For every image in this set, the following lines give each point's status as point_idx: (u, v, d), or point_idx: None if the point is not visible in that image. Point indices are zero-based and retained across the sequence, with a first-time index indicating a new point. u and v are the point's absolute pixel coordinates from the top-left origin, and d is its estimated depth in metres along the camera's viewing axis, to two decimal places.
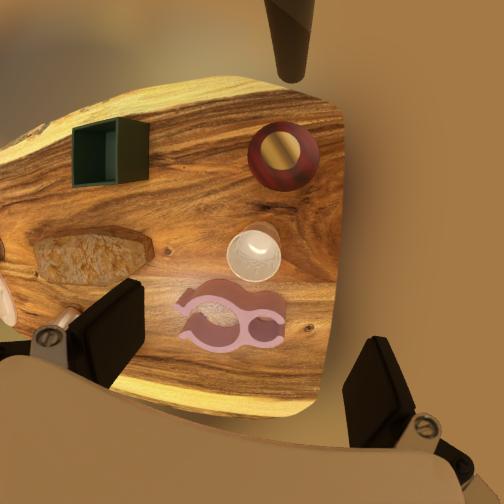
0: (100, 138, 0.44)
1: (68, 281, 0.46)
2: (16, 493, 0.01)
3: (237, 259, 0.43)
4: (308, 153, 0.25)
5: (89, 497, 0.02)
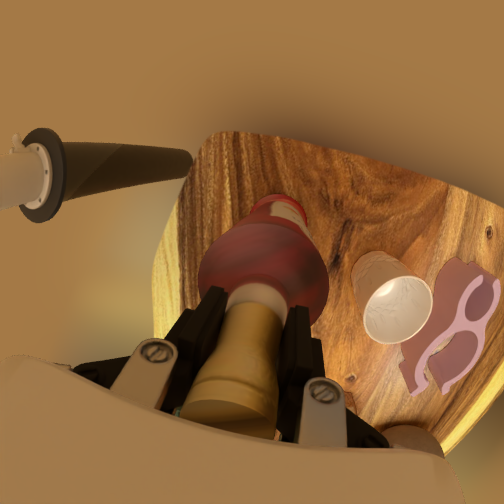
0: None
1: None
2: (16, 493, 0.01)
3: (393, 322, 0.27)
4: (262, 252, 0.13)
5: (89, 497, 0.02)
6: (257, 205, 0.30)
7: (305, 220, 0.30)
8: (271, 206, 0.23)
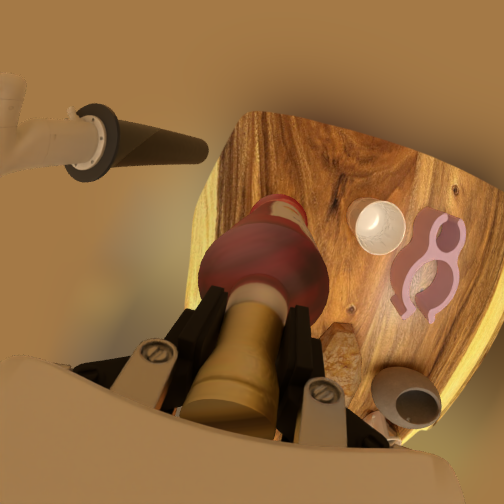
0: None
1: None
2: (16, 493, 0.01)
3: (379, 244, 0.39)
4: (262, 251, 0.13)
5: (89, 497, 0.02)
6: (257, 205, 0.30)
7: (305, 220, 0.30)
8: (271, 206, 0.23)
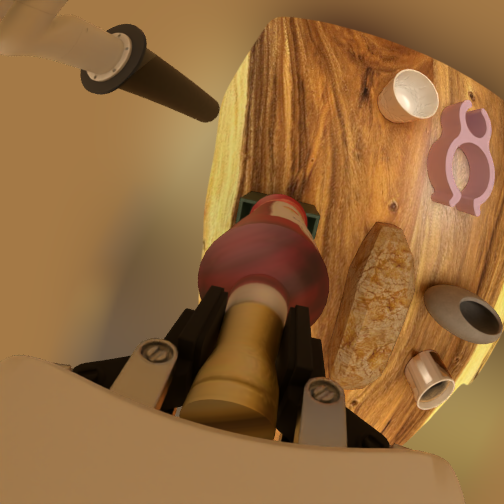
0: None
1: (395, 338, 0.40)
2: (16, 493, 0.01)
3: None
4: (262, 252, 0.13)
5: (89, 497, 0.02)
6: (257, 205, 0.30)
7: (305, 220, 0.30)
8: (271, 206, 0.23)
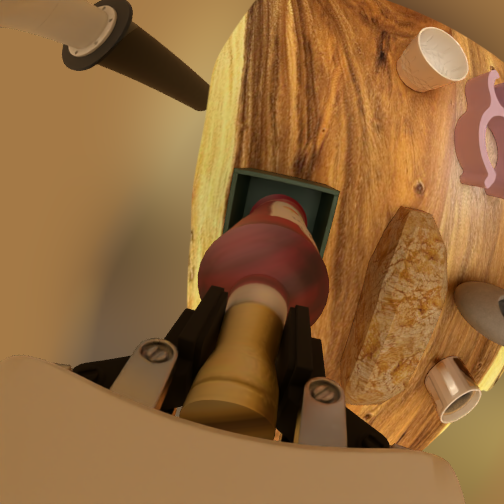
0: None
1: (425, 346, 0.31)
2: (16, 493, 0.01)
3: None
4: (261, 252, 0.13)
5: (89, 497, 0.02)
6: (257, 205, 0.30)
7: (305, 220, 0.30)
8: (271, 206, 0.23)
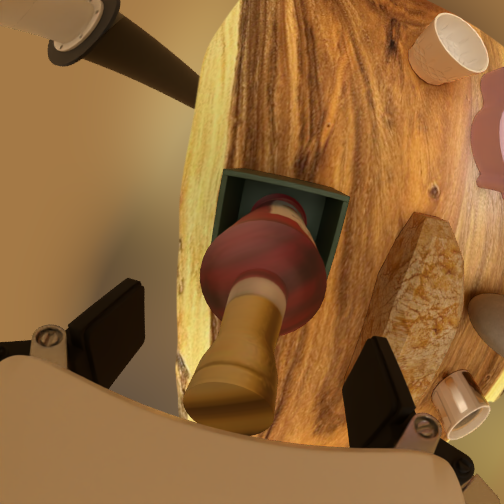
0: None
1: (437, 367, 0.26)
2: (16, 493, 0.01)
3: None
4: (261, 247, 0.14)
5: (89, 497, 0.02)
6: (257, 204, 0.31)
7: (304, 219, 0.31)
8: (271, 205, 0.23)
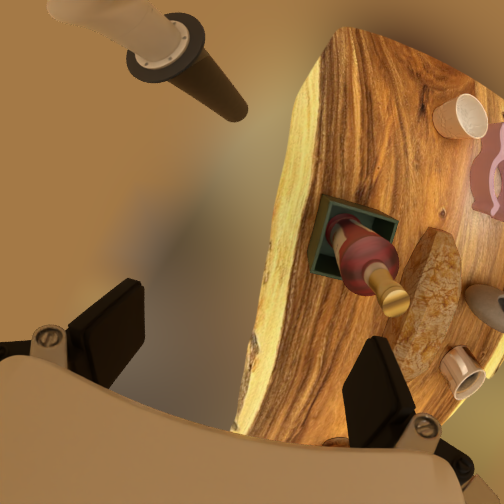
0: (317, 255, 0.47)
1: (445, 332, 0.40)
2: (16, 493, 0.01)
3: None
4: (376, 249, 0.27)
5: (89, 497, 0.02)
6: (333, 220, 0.45)
7: None
8: (355, 224, 0.37)
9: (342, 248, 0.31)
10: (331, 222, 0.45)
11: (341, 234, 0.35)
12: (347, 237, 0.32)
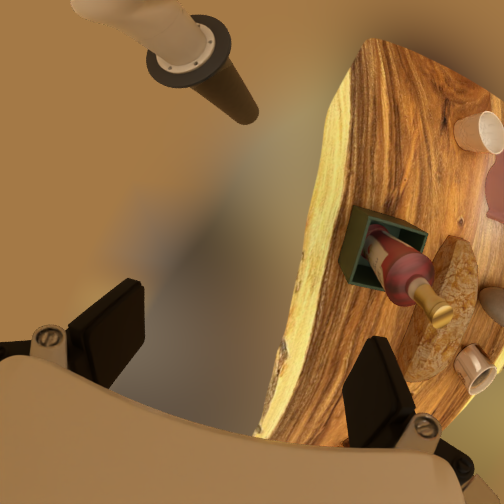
0: None
1: (463, 333, 0.40)
2: (16, 493, 0.01)
3: None
4: (418, 265, 0.28)
5: (89, 497, 0.02)
6: None
7: None
8: (390, 237, 0.37)
9: (385, 263, 0.32)
10: None
11: (380, 248, 0.36)
12: (389, 253, 0.32)
